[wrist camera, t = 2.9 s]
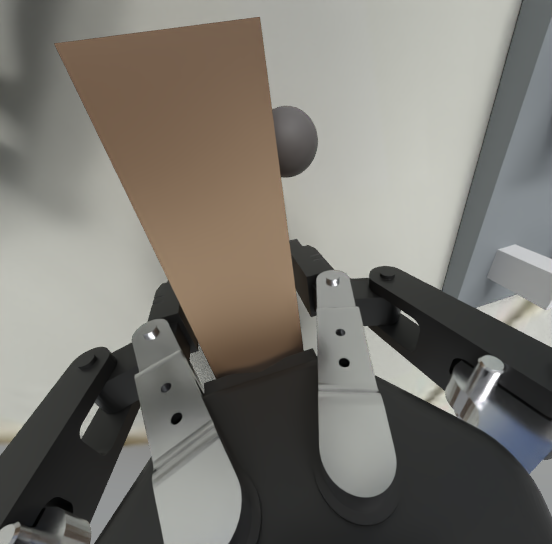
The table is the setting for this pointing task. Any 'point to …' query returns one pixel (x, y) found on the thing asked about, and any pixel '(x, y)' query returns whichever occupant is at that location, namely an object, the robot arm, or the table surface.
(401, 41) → the table surface
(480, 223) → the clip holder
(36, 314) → the table surface
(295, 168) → the cabinet door
